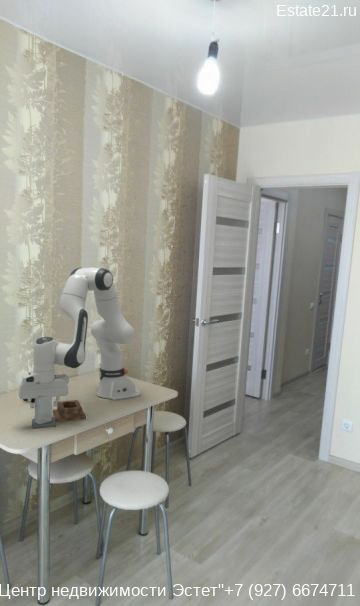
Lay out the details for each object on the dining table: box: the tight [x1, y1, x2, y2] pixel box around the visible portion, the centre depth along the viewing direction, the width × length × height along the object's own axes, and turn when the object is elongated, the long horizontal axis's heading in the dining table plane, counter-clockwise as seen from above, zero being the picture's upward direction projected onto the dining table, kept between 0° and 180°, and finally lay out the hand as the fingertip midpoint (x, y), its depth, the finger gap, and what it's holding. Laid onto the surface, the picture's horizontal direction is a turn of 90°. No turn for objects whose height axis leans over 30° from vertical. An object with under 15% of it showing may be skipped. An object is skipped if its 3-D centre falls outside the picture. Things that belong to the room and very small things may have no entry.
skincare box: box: [34, 396, 53, 424], centre depth 193 cm, size 6×4×12 cm
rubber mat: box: [31, 416, 56, 430], centre depth 194 cm, size 9×9×1 cm
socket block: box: [52, 399, 87, 423], centre depth 205 cm, size 13×13×5 cm
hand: (43, 406), depth 193 cm, fingers open, 8 cm apart
